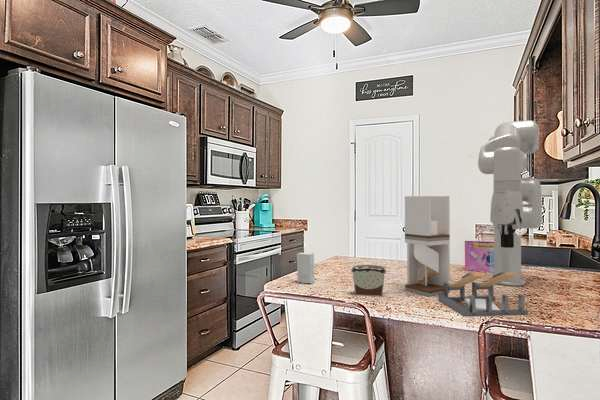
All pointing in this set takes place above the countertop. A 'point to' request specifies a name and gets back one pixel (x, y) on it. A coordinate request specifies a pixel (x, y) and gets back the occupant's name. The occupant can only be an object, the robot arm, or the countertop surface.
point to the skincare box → (305, 267)
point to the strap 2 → (495, 280)
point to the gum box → (479, 256)
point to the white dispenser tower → (427, 244)
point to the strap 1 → (465, 281)
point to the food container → (368, 279)
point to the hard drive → (480, 304)
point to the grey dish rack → (465, 310)
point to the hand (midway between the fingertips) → (507, 247)
